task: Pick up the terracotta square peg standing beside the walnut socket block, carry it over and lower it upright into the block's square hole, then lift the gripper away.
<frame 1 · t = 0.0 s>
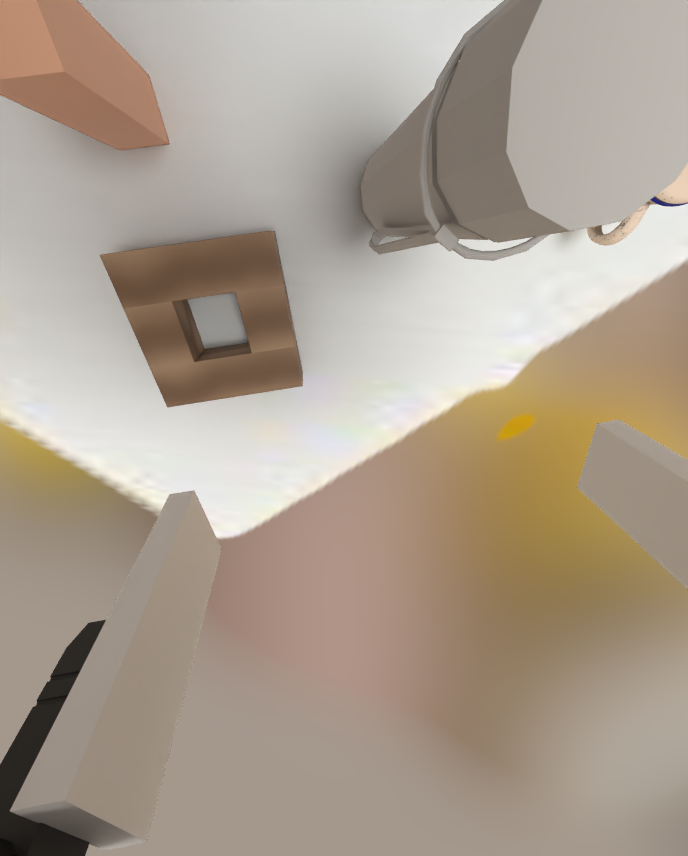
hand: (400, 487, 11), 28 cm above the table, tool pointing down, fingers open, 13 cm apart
teacup with lid: (596, 173, 32), on the table
water bottle: (390, 202, 31), on the table
peg: (133, 114, 26), on the table
socket block: (222, 319, 34), on the table
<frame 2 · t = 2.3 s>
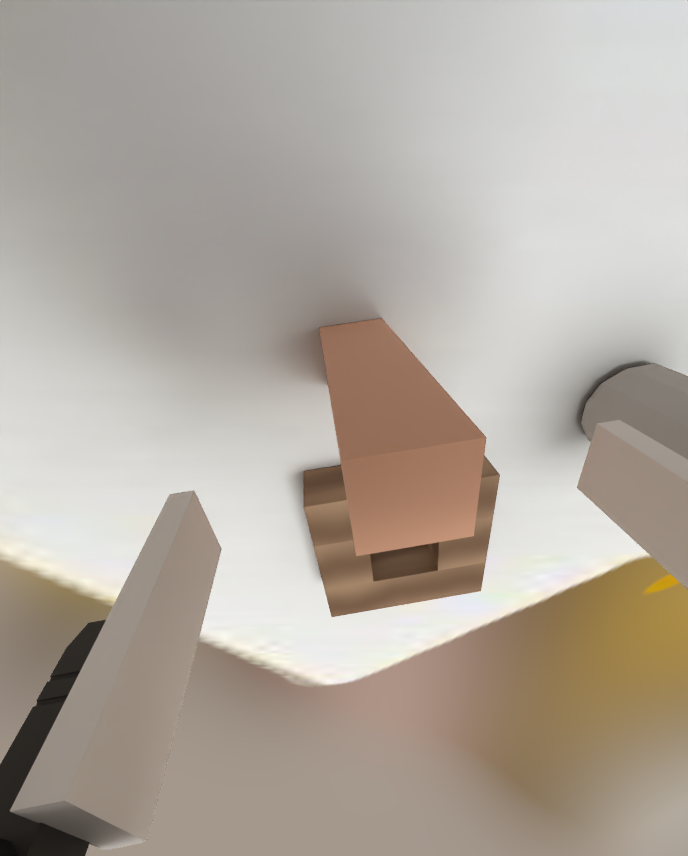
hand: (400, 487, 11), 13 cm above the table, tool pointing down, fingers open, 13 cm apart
water bottle: (607, 410, 27), on the table
peg: (353, 353, 22), on the table
socket block: (393, 518, 30), on the table
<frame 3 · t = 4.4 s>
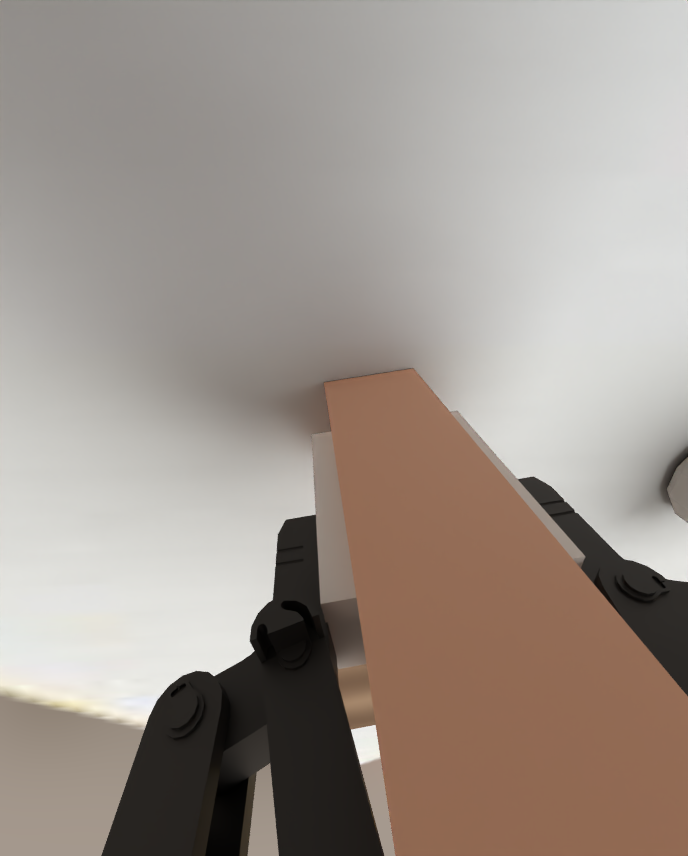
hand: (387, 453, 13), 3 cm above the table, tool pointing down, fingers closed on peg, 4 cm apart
peg: (372, 414, 16), on the table, touching gripper
socket block: (416, 604, 24), on the table
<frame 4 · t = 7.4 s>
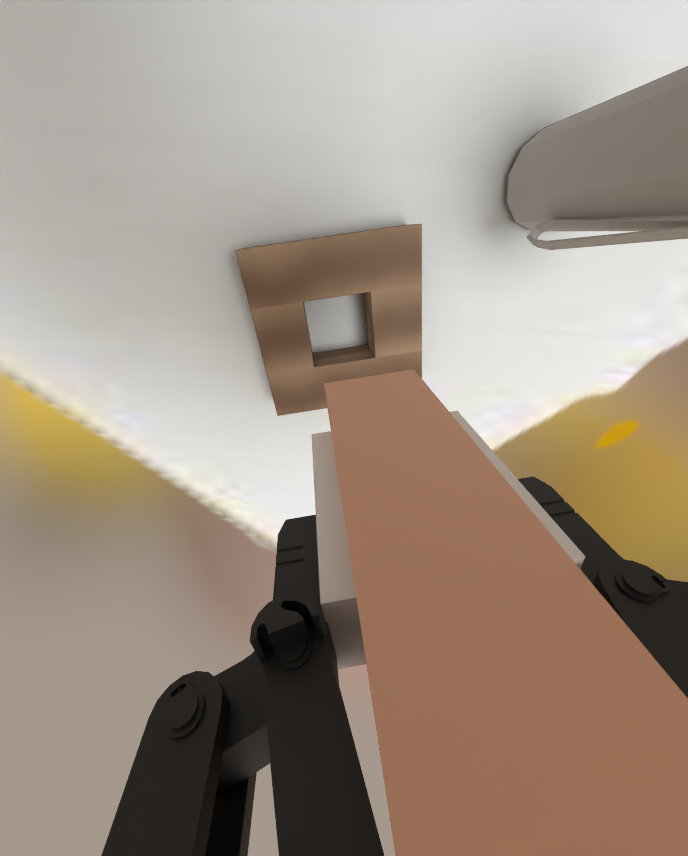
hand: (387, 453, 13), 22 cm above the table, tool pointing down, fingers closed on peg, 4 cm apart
water bottle: (532, 193, 28), on the table
peg: (372, 415, 16), point 19 cm above the table, touching gripper
socket block: (336, 320, 32), on the table
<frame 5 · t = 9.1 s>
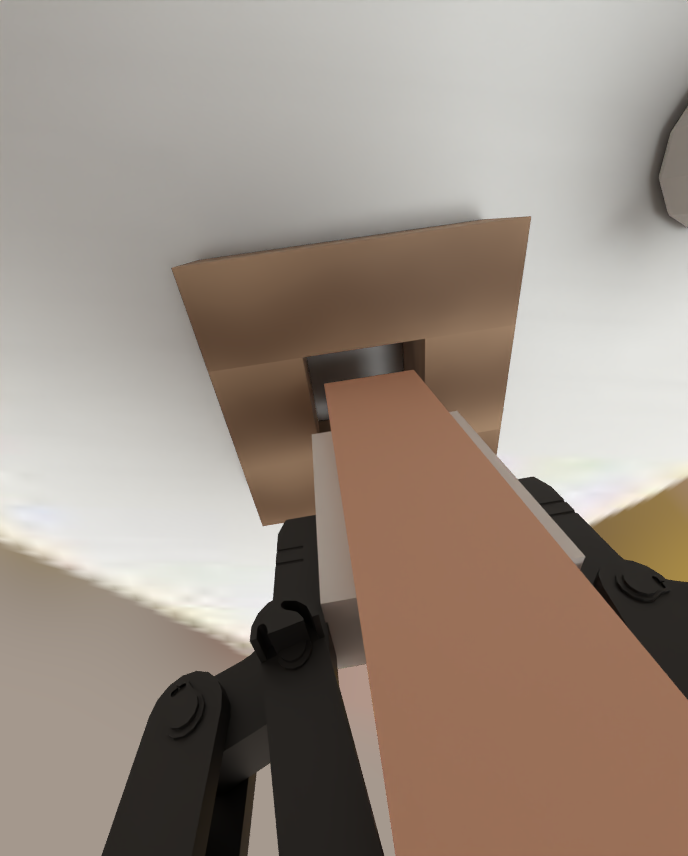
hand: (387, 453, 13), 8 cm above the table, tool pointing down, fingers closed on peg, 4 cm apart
peg: (372, 416, 16), point 5 cm above the table, touching gripper
socket block: (357, 373, 20), on the table
when the fingers open (5 cm above the table, at t = 10.3 s): peg drops 2 cm, resting in socket block.
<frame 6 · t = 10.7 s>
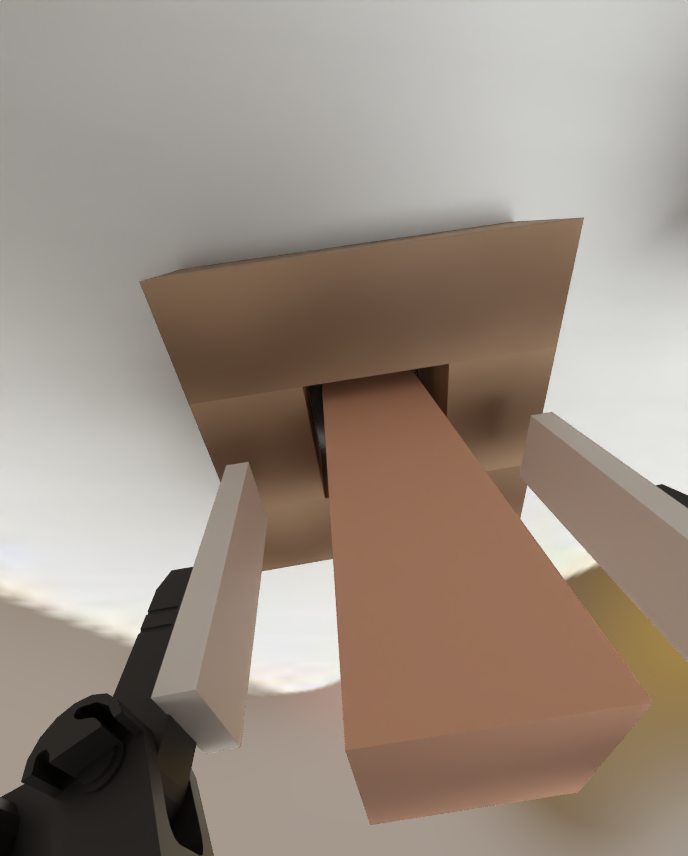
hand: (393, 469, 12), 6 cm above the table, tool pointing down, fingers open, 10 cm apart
peg: (364, 397, 17), resting in socket block
socket block: (365, 397, 17), on the table
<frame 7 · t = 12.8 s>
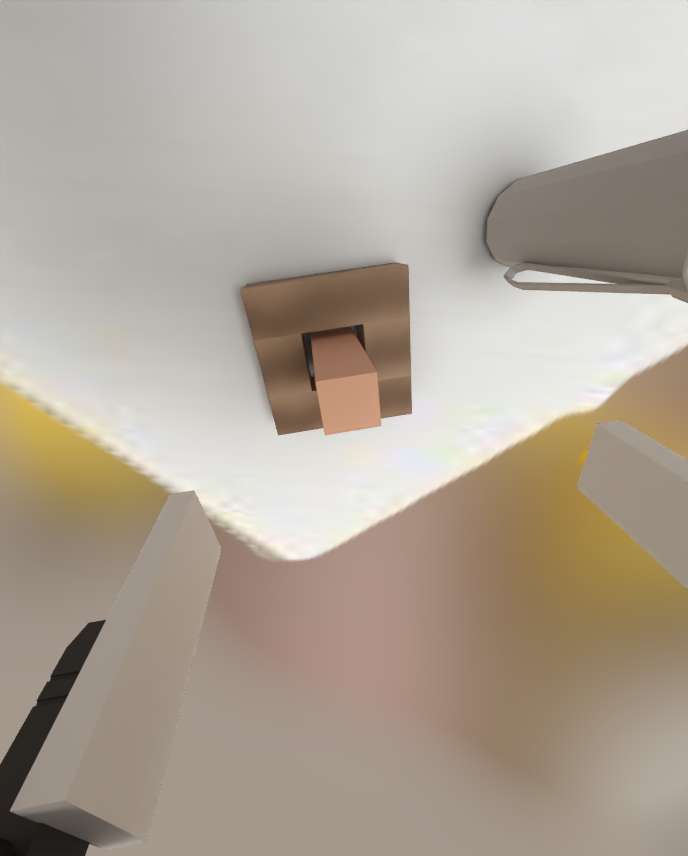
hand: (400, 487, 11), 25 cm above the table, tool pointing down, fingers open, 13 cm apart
water bottle: (510, 233, 31), on the table
peg: (332, 347, 34), resting in socket block
socket block: (332, 347, 34), on the table
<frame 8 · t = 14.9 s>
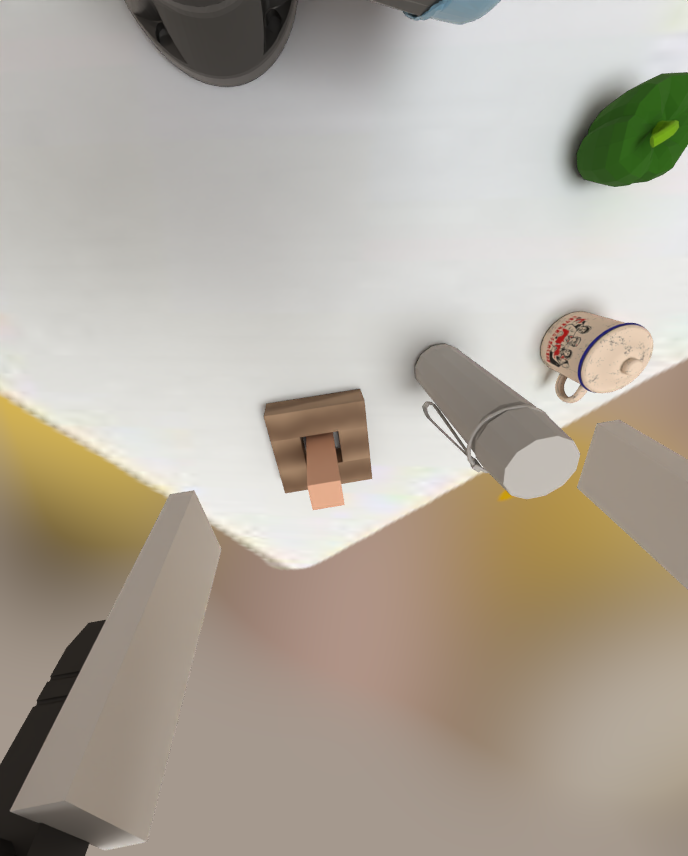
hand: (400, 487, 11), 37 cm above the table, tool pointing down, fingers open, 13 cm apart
teacup with lid: (561, 350, 50), on the table
bell pepper: (598, 146, 38), on the table
water bottle: (431, 370, 49), on the table
peg: (320, 436, 53), resting in socket block
socket block: (320, 435, 53), on the table
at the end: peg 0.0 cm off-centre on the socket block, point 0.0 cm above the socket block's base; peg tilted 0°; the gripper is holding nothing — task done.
